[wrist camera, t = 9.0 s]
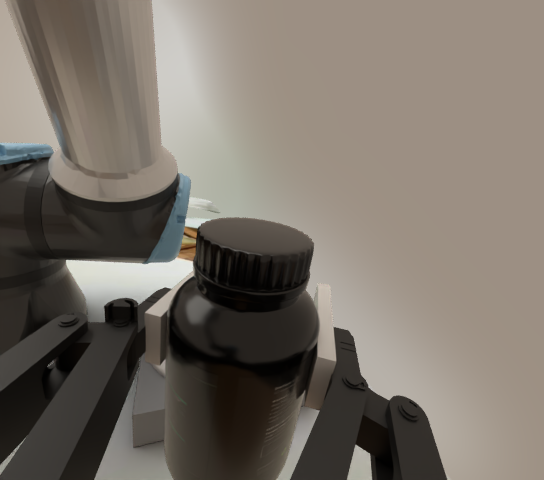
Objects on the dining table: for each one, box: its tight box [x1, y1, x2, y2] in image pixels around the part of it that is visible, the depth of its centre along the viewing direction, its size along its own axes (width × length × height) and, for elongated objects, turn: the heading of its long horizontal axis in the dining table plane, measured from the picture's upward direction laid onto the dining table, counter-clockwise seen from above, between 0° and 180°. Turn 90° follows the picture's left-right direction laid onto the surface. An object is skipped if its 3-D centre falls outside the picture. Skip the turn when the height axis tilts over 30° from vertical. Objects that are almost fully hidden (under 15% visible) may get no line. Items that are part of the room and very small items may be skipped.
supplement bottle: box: [164, 218, 320, 480], centre depth 12 cm, size 7×7×12 cm
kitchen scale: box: [132, 353, 305, 447], centre depth 32 cm, size 18×16×5 cm
